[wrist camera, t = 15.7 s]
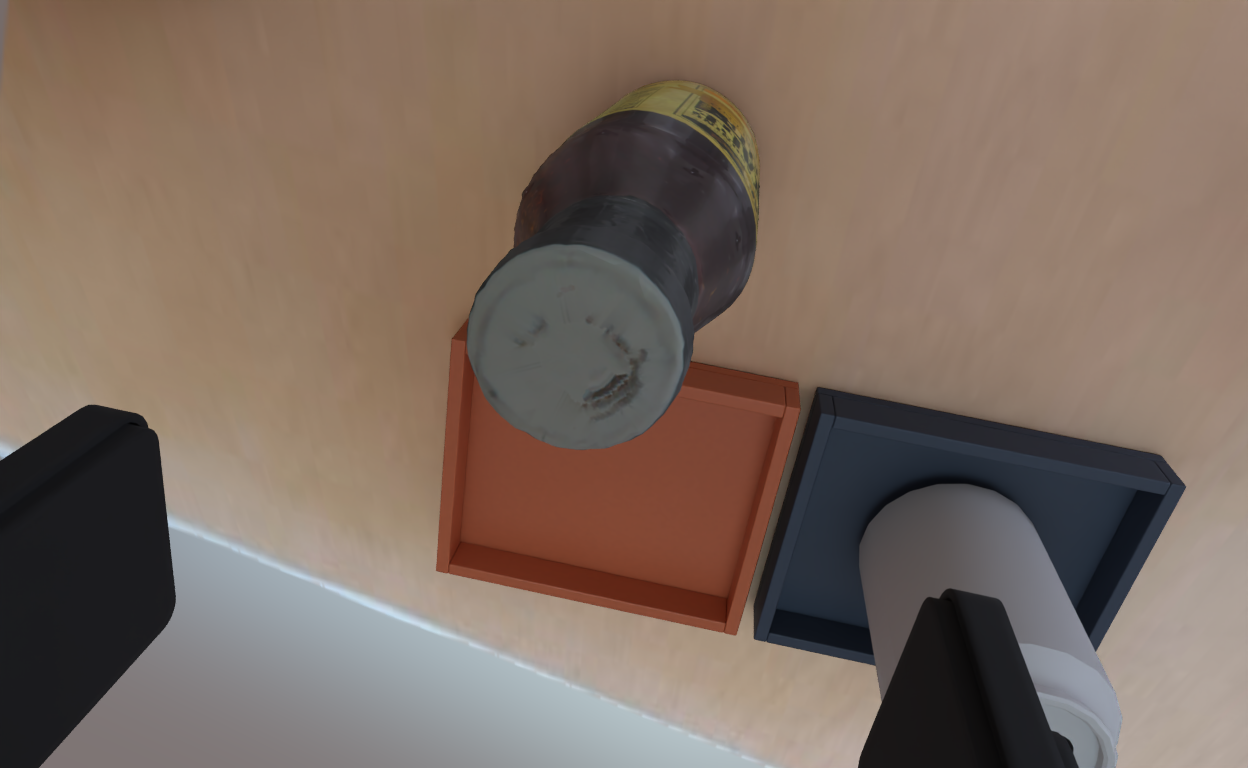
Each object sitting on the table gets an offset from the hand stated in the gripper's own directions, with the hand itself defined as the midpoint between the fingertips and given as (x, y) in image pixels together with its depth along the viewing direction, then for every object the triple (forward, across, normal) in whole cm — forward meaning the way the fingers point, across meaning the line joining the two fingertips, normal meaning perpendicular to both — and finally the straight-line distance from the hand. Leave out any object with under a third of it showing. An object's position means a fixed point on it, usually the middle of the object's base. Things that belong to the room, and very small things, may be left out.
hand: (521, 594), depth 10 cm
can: (+25, -14, +14) cm, 32 cm away
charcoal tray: (+26, -14, +14) cm, 33 cm away
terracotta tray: (+26, +1, +14) cm, 29 cm away
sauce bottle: (+26, 0, 0) cm, 26 cm away
